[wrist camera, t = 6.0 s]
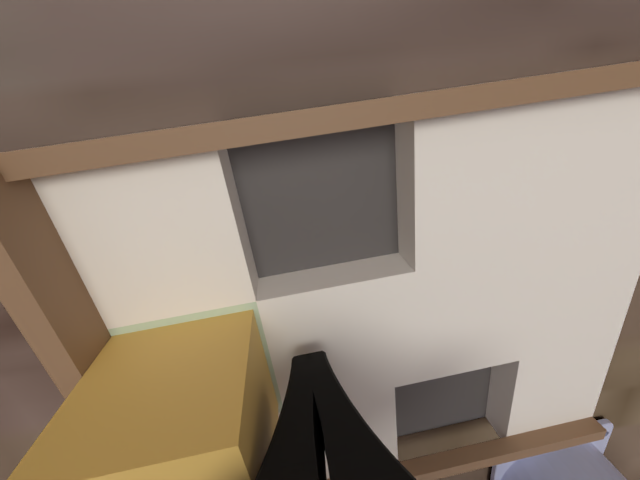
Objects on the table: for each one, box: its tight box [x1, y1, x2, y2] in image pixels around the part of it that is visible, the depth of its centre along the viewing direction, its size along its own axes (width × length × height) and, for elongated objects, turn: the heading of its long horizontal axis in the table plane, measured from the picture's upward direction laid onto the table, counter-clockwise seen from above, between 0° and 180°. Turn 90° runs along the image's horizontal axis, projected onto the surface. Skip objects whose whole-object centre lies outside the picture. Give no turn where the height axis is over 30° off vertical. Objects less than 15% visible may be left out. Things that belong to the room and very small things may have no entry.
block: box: [7, 309, 278, 480], centre depth 10 cm, size 5×5×5 cm
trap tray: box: [0, 61, 640, 480], centre depth 13 cm, size 18×22×4 cm
